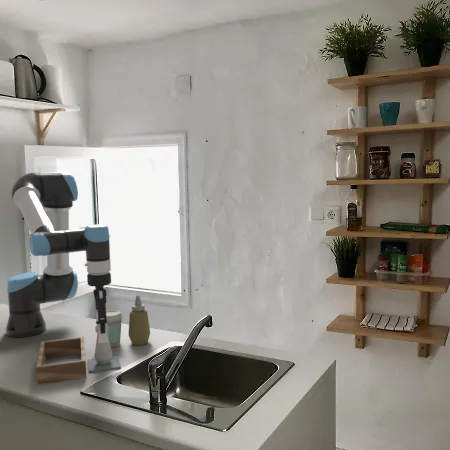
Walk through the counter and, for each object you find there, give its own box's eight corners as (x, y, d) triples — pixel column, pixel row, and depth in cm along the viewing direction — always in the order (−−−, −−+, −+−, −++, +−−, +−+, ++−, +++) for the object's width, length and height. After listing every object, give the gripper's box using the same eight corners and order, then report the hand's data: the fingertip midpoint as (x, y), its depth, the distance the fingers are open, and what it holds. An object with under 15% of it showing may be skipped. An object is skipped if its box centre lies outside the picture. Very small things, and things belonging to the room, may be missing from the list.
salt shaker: (108, 366, 163) (106, 327, 162) (91, 365, 164) (89, 327, 163) (115, 360, 169) (113, 322, 167) (99, 359, 170) (97, 321, 169)
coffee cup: (128, 342, 188) (126, 311, 186) (114, 349, 180) (112, 317, 179) (109, 339, 191) (108, 308, 190) (95, 346, 184) (93, 315, 182)
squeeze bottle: (124, 345, 184) (122, 297, 182) (136, 338, 192) (134, 292, 190) (143, 347, 181) (141, 299, 179) (154, 340, 189) (152, 293, 187)
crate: (42, 356, 175) (41, 341, 174) (84, 351, 179) (84, 336, 178) (37, 384, 152) (36, 367, 151) (86, 378, 156) (85, 361, 156)
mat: (88, 361, 170) (87, 359, 170) (118, 357, 173) (117, 355, 172) (88, 372, 160) (88, 370, 160) (120, 368, 163) (120, 366, 163)
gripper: (86, 265, 174) (89, 325, 176) (88, 282, 150) (91, 350, 153) (108, 264, 176) (110, 322, 178) (113, 280, 152) (116, 347, 155)
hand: (102, 335), depth 165 cm, fingers open, 13 cm apart
